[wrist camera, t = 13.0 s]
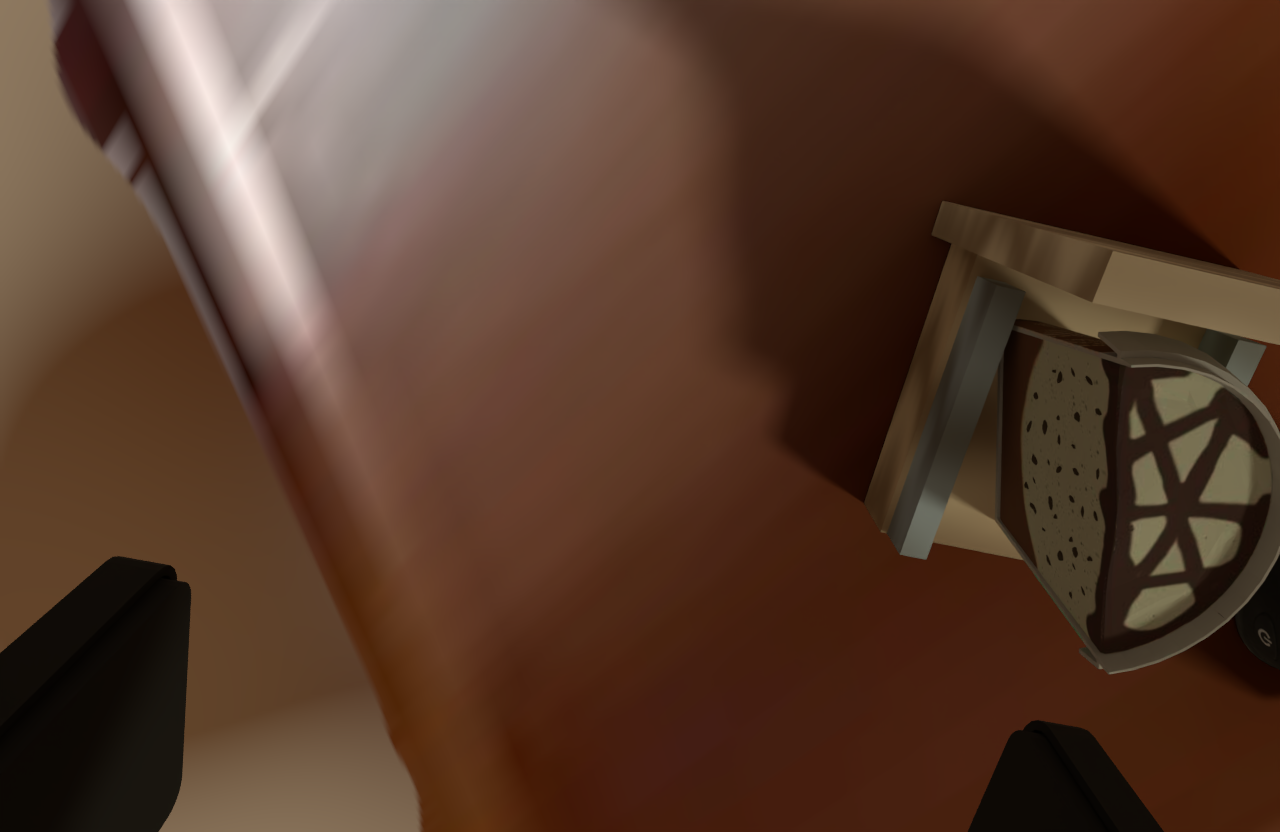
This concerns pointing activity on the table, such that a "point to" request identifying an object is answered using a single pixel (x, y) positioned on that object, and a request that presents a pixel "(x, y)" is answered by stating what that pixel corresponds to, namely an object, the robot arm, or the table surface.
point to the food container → (1134, 486)
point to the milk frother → (1263, 619)
